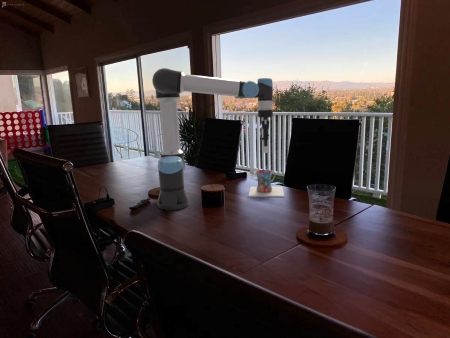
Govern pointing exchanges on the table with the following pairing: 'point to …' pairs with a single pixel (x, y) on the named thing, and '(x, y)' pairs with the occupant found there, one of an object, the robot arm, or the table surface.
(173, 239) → the table surface
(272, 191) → the placemat
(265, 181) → the mug
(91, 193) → the table surface
